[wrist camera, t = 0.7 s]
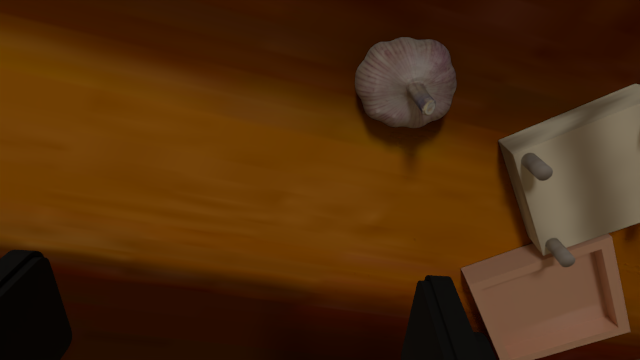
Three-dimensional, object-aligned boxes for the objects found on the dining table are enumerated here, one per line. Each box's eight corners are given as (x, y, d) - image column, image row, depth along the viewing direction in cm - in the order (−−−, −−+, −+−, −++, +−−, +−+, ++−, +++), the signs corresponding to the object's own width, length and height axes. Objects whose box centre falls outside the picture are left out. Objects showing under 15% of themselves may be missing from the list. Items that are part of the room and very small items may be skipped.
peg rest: (635, 83, 31) (692, 102, 27) (650, 192, 36) (701, 226, 31) (498, 140, 34) (527, 167, 29) (528, 236, 38) (557, 274, 33)
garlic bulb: (467, 81, 32) (508, 111, 25) (395, 140, 34) (413, 182, 27) (408, 6, 29) (435, 16, 22) (335, 75, 32) (338, 104, 25)
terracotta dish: (594, 221, 37) (611, 236, 35) (614, 313, 43) (630, 331, 40) (460, 268, 40) (468, 285, 38) (494, 349, 45) (503, 368, 43)
